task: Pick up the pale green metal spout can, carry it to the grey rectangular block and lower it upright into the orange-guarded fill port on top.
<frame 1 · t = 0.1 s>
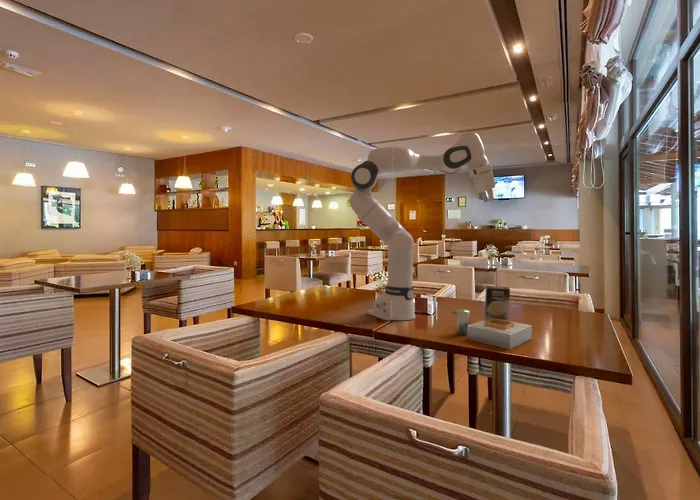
hand: (489, 201, 165), 52 cm above the table, tool tilted 20°, fingers open, 8 cm apart
grey rectangular block: (499, 338, 141), on the table
coffee box: (495, 325, 160), on the table
spout can: (462, 333, 147), on the table
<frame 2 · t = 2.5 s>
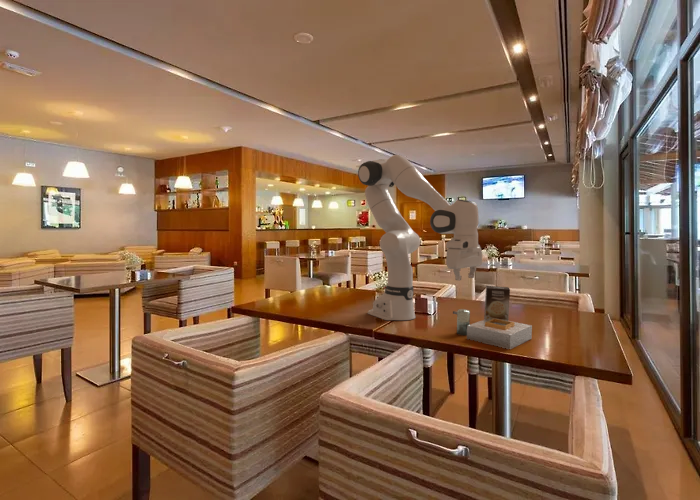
hand: (464, 279, 146), 21 cm above the table, tool pointing down, fingers open, 8 cm apart
nothing on the table moved.
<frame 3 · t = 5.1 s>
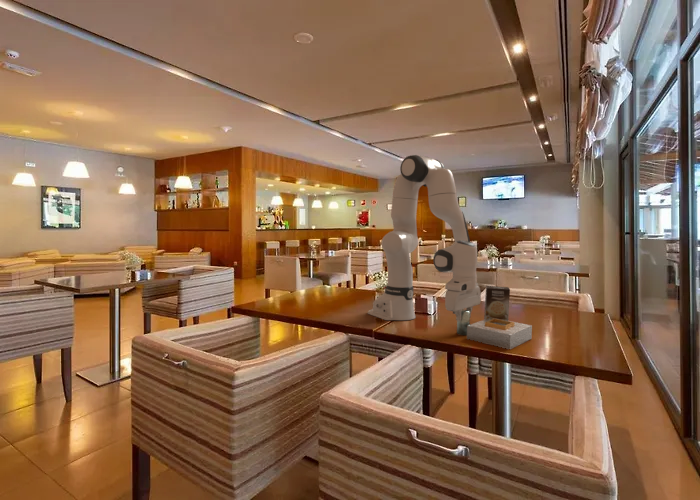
hand: (463, 319, 147), 6 cm above the table, tool pointing down, fingers closed on spout can, 5 cm apart
spout can: (463, 333, 147), on the table, touching gripper
everything else where it was.
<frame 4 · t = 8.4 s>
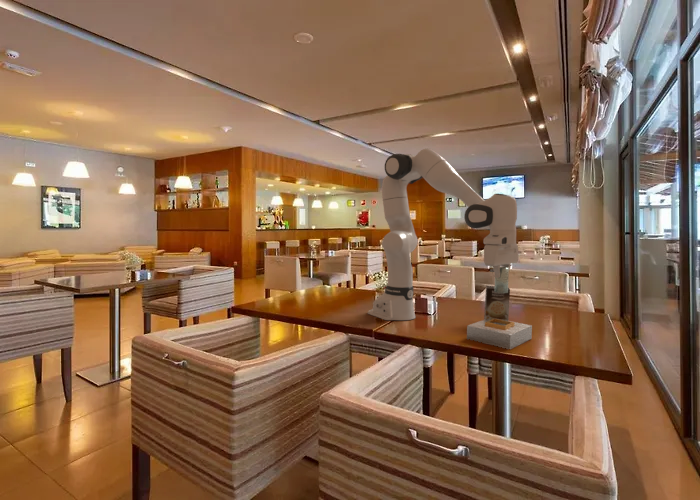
hand: (501, 276, 139), 23 cm above the table, tool pointing down, fingers closed on spout can, 5 cm apart
spout can: (501, 292, 140), point 17 cm above the table, touching gripper
everything else where it was.
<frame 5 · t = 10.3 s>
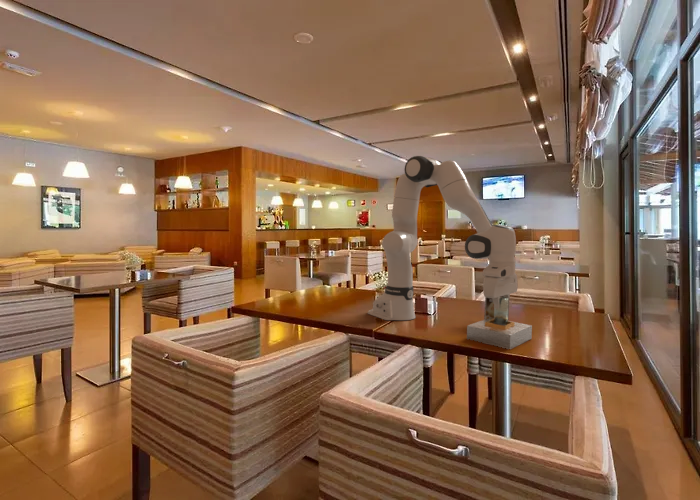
hand: (500, 307, 140), 12 cm above the table, tool pointing down, fingers closed on spout can, 5 cm apart
spout can: (500, 322, 141), point 6 cm above the table, touching gripper
everything else where it was.
when the fingers open (8 cm above the table, at t = 11.9 s): spout can stays where it is, resting on grey rectangular block.
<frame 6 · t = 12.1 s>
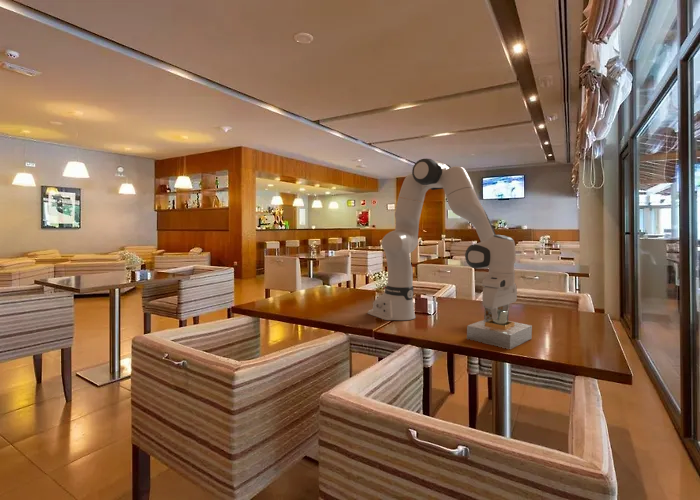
hand: (499, 317, 141), 8 cm above the table, tool pointing down, fingers open, 6 cm apart
spout can: (499, 334, 141), point 2 cm above the table, touching grey rectangular block
everything else where it was.
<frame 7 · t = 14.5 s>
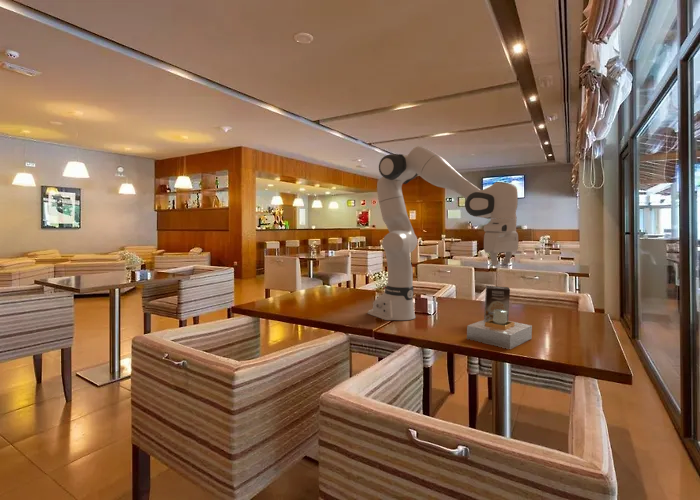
hand: (500, 264, 141), 27 cm above the table, tool pointing down, fingers open, 8 cm apart
nothing on the table moved.
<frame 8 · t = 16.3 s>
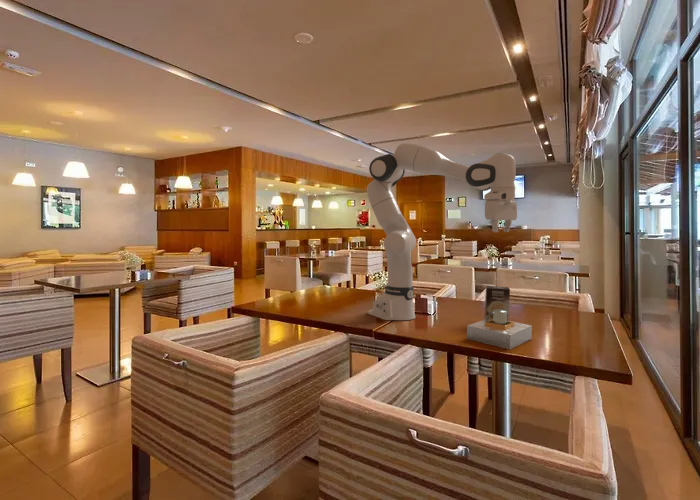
hand: (501, 231, 149), 39 cm above the table, tool pointing down, fingers open, 8 cm apart
nothing on the table moved.
at the end: spout can 0.0 cm off-centre on the grey rectangular block, point 1.5 cm above the grey rectangular block's base; spout can tilted 0°; the gripper is holding nothing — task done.
